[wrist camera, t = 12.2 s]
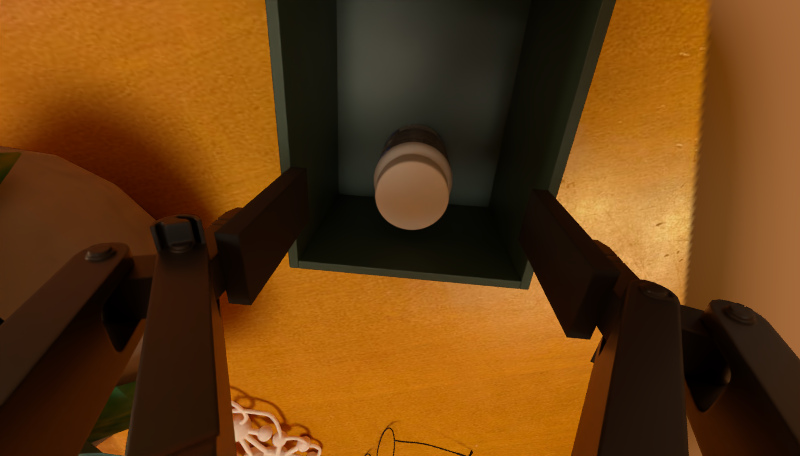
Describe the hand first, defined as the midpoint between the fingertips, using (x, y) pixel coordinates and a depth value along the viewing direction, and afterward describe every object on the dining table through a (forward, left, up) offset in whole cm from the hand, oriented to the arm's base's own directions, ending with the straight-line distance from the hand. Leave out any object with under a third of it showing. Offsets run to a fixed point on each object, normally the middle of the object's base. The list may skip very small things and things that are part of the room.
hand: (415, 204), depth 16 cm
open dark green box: (-3, 0, -10) cm, 11 cm away
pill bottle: (0, 0, -10) cm, 10 cm away
